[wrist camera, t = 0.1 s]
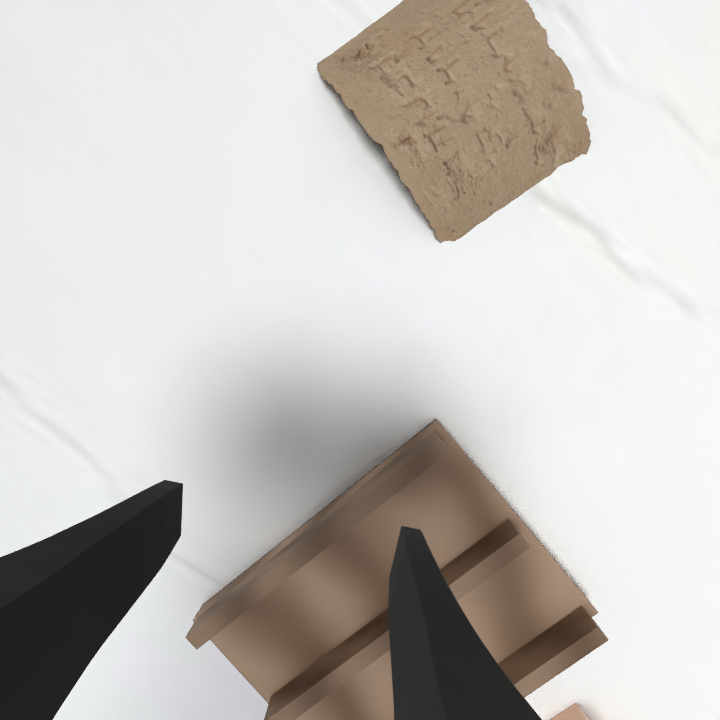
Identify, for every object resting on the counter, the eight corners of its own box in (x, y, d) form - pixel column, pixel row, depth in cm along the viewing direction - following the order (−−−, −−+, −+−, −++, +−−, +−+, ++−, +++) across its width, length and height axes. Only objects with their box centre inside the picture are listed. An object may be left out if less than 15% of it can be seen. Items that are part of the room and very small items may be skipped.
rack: (347, 765, 24) (343, 821, 21) (202, 605, 23) (179, 642, 20) (586, 597, 22) (616, 634, 19) (436, 418, 21) (445, 431, 18)
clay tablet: (590, 160, 20) (624, 133, 17) (448, 267, 21) (459, 258, 18) (445, -52, 19) (456, -113, 17) (304, 68, 20) (294, 28, 18)
